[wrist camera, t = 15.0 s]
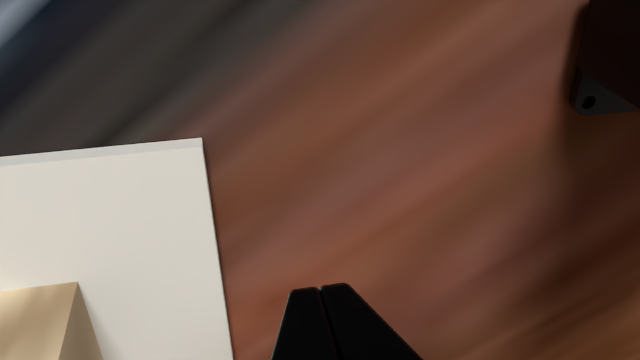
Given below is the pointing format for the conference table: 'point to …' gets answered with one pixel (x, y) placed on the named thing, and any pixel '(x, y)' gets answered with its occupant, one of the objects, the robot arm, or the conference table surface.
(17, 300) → the maple block
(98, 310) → the mat
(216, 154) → the conference table surface
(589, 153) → the conference table surface
